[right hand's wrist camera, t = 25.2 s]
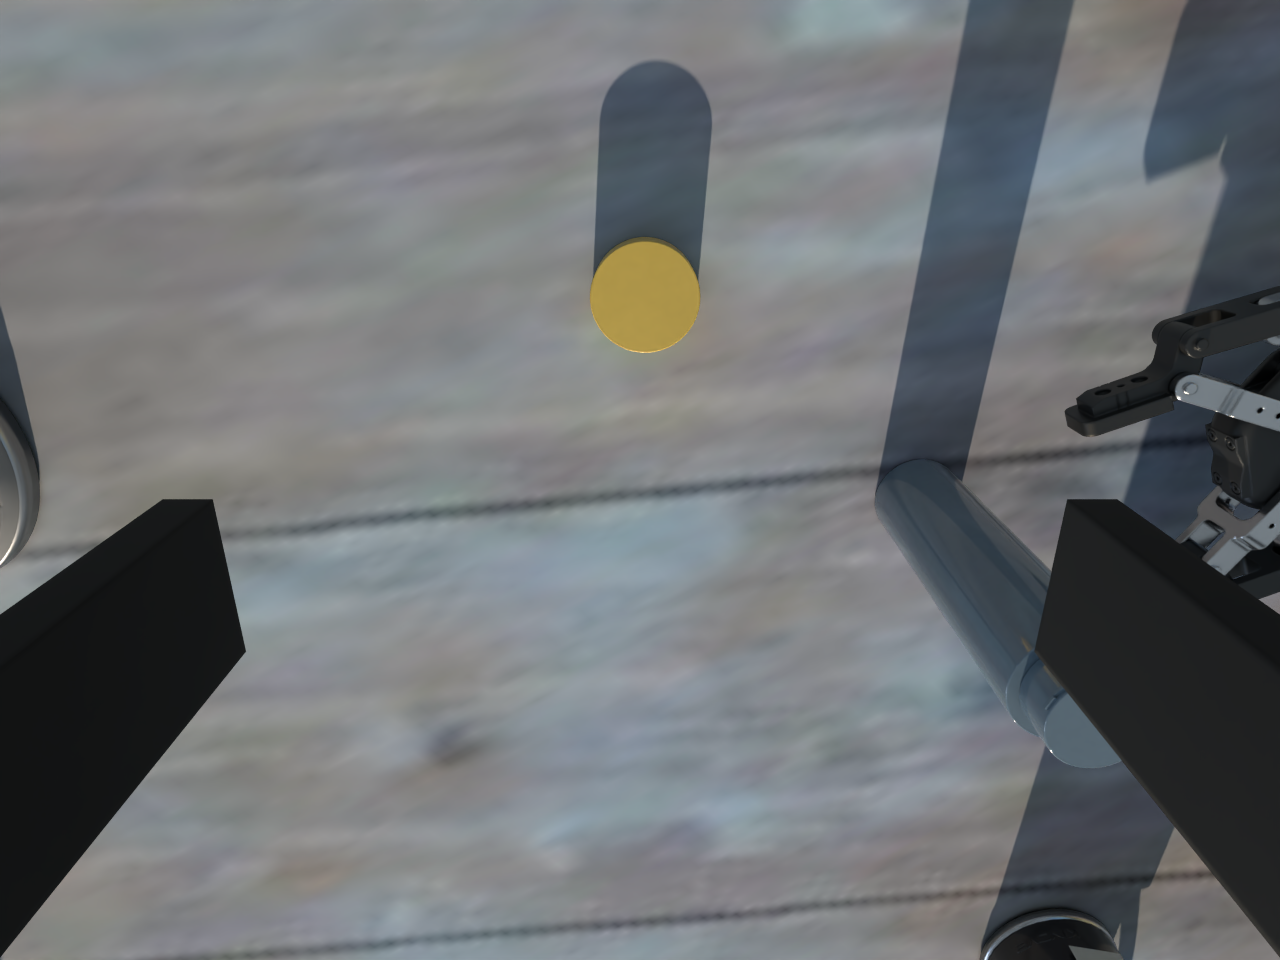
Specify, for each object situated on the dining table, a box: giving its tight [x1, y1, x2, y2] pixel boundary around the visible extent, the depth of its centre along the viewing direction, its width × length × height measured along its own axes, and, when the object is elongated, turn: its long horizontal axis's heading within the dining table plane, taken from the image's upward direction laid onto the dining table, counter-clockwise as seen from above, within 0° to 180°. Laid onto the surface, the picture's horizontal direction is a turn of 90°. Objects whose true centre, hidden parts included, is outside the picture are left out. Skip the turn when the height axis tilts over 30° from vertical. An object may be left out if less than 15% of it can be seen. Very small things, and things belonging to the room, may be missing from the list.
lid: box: [590, 237, 700, 353], centre depth 39 cm, size 5×5×2 cm
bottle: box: [875, 459, 1122, 768], centre depth 35 cm, size 5×5×19 cm
